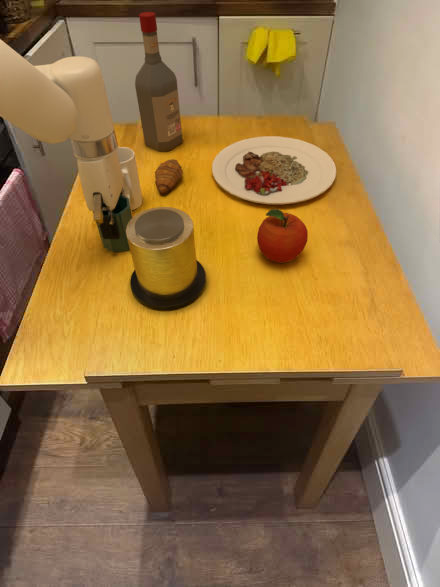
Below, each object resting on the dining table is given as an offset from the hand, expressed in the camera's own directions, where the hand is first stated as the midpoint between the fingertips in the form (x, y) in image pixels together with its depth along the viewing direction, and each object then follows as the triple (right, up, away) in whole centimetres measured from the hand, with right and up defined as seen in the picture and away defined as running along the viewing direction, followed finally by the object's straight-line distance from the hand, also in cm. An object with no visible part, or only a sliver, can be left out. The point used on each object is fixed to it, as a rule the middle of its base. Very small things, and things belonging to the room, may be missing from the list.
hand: (116, 224), depth 81 cm
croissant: (+9, +13, +18) cm, 24 cm away
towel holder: (+11, -12, -5) cm, 17 cm away
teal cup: (0, -3, +3) cm, 4 cm away
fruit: (+33, -6, 0) cm, 33 cm away
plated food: (+34, +16, +19) cm, 42 cm away
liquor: (+5, +27, +31) cm, 41 cm away
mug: (+1, +6, +11) cm, 12 cm away
